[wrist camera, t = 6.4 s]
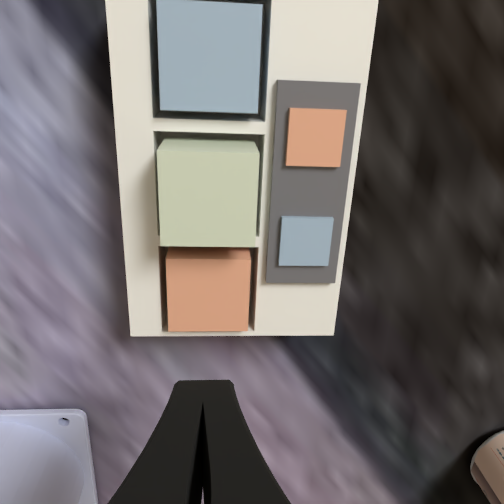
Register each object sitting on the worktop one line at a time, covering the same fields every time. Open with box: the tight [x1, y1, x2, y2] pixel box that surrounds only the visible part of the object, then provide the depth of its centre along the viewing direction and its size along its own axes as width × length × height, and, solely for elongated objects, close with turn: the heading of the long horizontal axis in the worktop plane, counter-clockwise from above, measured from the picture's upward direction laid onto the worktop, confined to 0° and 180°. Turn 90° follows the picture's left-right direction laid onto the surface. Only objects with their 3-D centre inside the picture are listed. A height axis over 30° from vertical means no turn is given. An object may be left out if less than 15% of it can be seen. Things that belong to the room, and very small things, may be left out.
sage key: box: [157, 137, 260, 247], centre depth 15 cm, size 3×3×2 cm
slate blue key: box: [156, 0, 263, 114], centre depth 14 cm, size 3×3×2 cm
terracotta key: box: [166, 246, 251, 332], centre depth 18 cm, size 3×3×2 cm
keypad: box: [105, 0, 378, 336], centre depth 17 cm, size 8×12×4 cm, turn 178°
